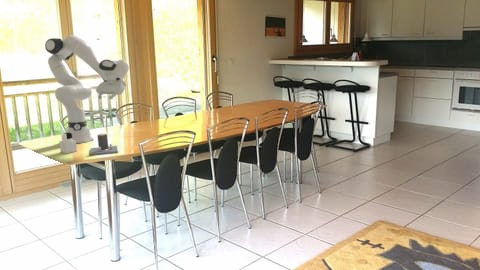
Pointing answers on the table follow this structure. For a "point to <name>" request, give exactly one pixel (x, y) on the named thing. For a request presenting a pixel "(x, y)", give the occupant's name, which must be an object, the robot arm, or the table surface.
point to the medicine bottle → (67, 143)
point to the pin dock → (98, 150)
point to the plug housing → (103, 141)
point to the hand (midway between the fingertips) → (104, 98)
